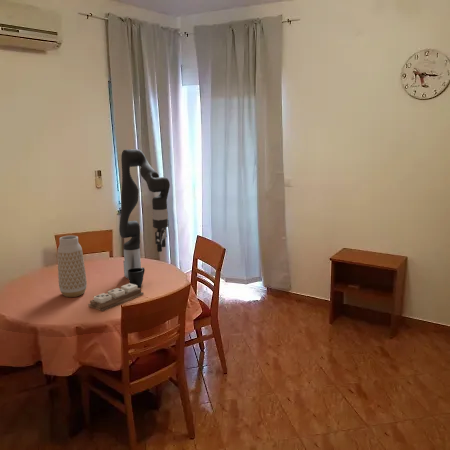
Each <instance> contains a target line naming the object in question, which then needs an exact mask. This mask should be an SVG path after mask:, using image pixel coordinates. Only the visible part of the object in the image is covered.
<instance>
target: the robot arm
mask: <svg viewBox="0 0 450 450" xmlns="http://www.w3.org/2000/svg"><path fill="white" fill-rule="evenodd" d="M120 158H121V192H120V193H121V201H120V202H121V207H120V208H121V209H120V217H119V225H118V227H119V229H118V230H119V235H120V237H121V238H123V239H127V238H130V239H129V240H128V241H126V242H124V243H123V258H124V260H123V273H124V274H123V275H124V277H125V278H126V279H128V280H129V278H128V270H129V269H132V268H142V263H141V249H140V248H141V247H140V246H141V227H140V223H139V222H138V221H137V220H129V219H130V216H131V213H132V212H133V210H134V209H135V208H136V206H137V204H138V203H139V188H138V185H137V184H136V182H135V181H134V179H133V177H132V175H131V171H130V169H131V167H132V168H133V167H140V170H139V173H140V176H141V178H142V179H143V180H144V181H145V182H146V184H147V185H146V186H147V188H148V190H149V192H151V193H159V194H158V195H156V196H155V197H152V200H151V202H152V204H151V205H152V215H151V216H152V227H153V228H154V229H156V231H155V233H154V234H155V235H154V237H155V239H154V240H155V241H154V242H155V245H156V250H157V252H158V253H161V252H162V251H163V248H165V247H167V246H166V245H167V243H166V240H167V237H168V236H167V228H168V227H169V213H168V201H167V200H168V196H169V191H170V188H171V185H170V184H171V182H170V180H169V179H168V178H167V177H166V176H162V177H160V175H159V173H158V172H157V170H155V169H154V168H153V167H152V165H150V163H149V161H148V159H147V157H146V156H145V154H144V152H143V151H142V150H141V149H136V148H133V149H123V150H122V153H121V157H120Z"/></svg>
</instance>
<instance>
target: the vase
mask: <svg viewBox="0 0 450 450" xmlns="http://www.w3.org/2000/svg"><path fill="white" fill-rule="evenodd" d="M58 240H59V245H58V248H57V272H58V274H57V275H58V287H59V291H60V293H61V294H62V295H63V296H64V297H65V298H76V297H79V296H82V295H83V294H84V293H85V291H86V290H87V287H88V285H87V273H86V268H85V266H86V265H85V260H84V254H83V248H82V246H81V244H80V243H79V236H78V235H64V236H61V237H59V239H58Z"/></svg>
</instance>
